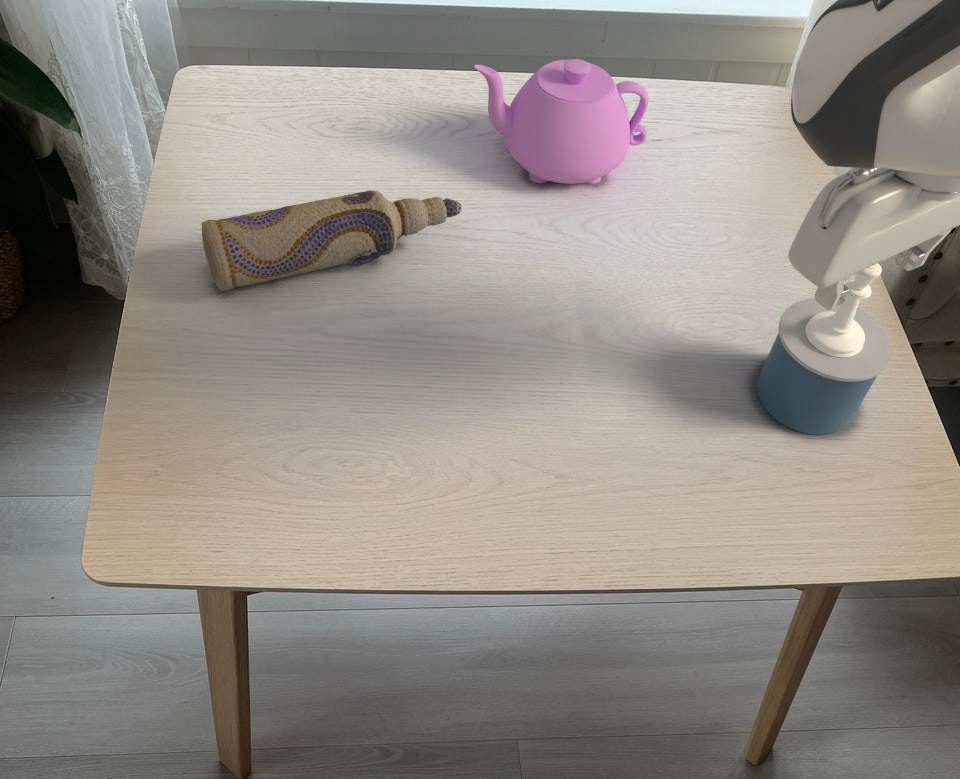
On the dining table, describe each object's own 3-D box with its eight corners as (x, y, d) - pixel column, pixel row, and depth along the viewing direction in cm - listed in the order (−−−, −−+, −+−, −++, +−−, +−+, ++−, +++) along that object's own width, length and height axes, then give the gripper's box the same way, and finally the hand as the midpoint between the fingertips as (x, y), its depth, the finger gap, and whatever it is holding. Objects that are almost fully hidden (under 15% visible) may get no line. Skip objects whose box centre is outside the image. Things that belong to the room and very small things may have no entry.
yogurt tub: (871, 438, 85) (908, 379, 79) (767, 437, 84) (796, 378, 78) (840, 358, 91) (872, 298, 85) (743, 357, 90) (768, 296, 84)
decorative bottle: (221, 310, 90) (211, 256, 85) (205, 259, 94) (194, 205, 89) (474, 253, 97) (478, 201, 92) (447, 209, 102) (450, 157, 97)
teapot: (471, 198, 103) (478, 100, 94) (464, 123, 112) (470, 27, 103) (651, 201, 105) (675, 104, 96) (629, 126, 114) (650, 32, 105)
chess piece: (794, 321, 82) (835, 232, 75) (843, 312, 84) (887, 223, 76) (824, 362, 79) (869, 273, 72) (874, 352, 81) (923, 263, 73)
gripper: (874, 203, 60) (805, 353, 71) (1067, 121, 68) (979, 266, 79) (803, 151, 64) (747, 301, 74) (995, 78, 72) (920, 223, 82)
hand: (868, 282), depth 76 cm, fingers open, 8 cm apart
